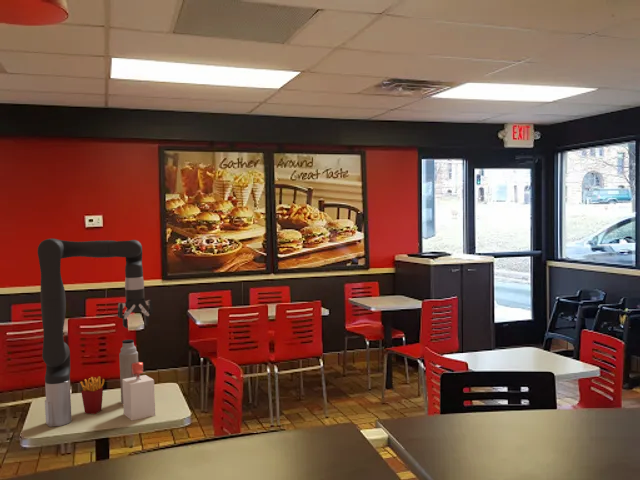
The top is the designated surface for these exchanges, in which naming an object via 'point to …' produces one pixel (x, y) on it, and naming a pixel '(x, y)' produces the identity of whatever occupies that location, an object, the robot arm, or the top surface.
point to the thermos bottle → (127, 361)
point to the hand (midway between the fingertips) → (136, 326)
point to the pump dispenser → (138, 397)
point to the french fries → (92, 395)
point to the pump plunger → (137, 369)
